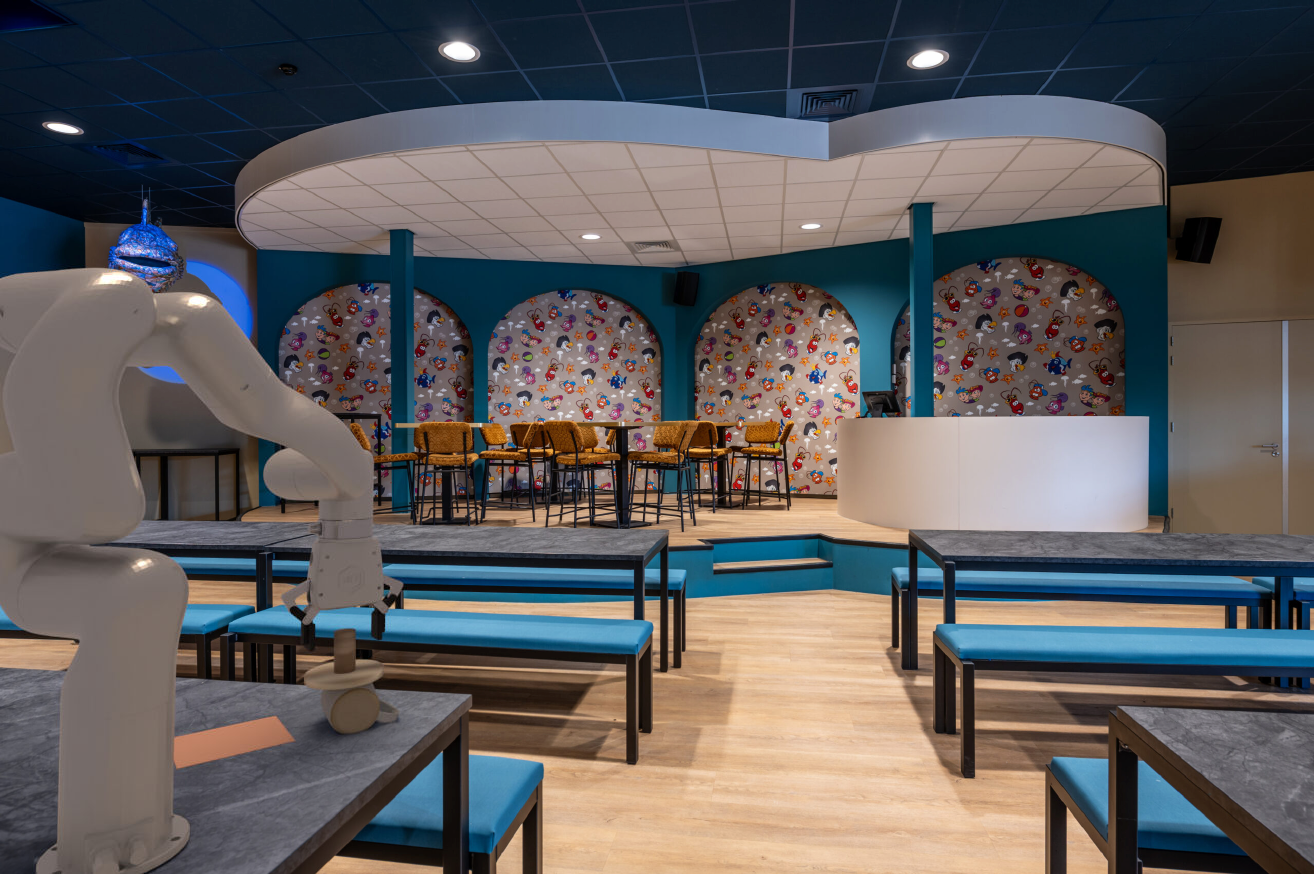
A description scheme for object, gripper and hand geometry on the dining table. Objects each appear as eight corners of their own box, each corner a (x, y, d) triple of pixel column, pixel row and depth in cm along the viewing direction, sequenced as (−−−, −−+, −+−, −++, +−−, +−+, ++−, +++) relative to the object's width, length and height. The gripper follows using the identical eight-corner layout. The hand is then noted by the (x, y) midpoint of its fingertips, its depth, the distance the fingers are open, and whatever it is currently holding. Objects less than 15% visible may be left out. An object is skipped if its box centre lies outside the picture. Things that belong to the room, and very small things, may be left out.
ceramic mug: (328, 742, 101) (330, 688, 101) (319, 723, 108) (321, 673, 108) (404, 728, 107) (406, 677, 107) (391, 711, 114) (393, 663, 114)
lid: (392, 679, 105) (392, 632, 105) (312, 695, 99) (312, 645, 99) (372, 661, 114) (372, 618, 114) (297, 674, 108) (298, 628, 108)
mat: (295, 744, 100) (295, 740, 100) (176, 773, 91) (176, 768, 91) (275, 719, 109) (275, 715, 109) (166, 743, 100) (166, 738, 100)
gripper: (289, 536, 98) (286, 660, 98) (411, 528, 109) (410, 639, 109) (276, 531, 104) (274, 648, 104) (394, 524, 115) (392, 629, 115)
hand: (344, 643), depth 106 cm, fingers open, 9 cm apart
